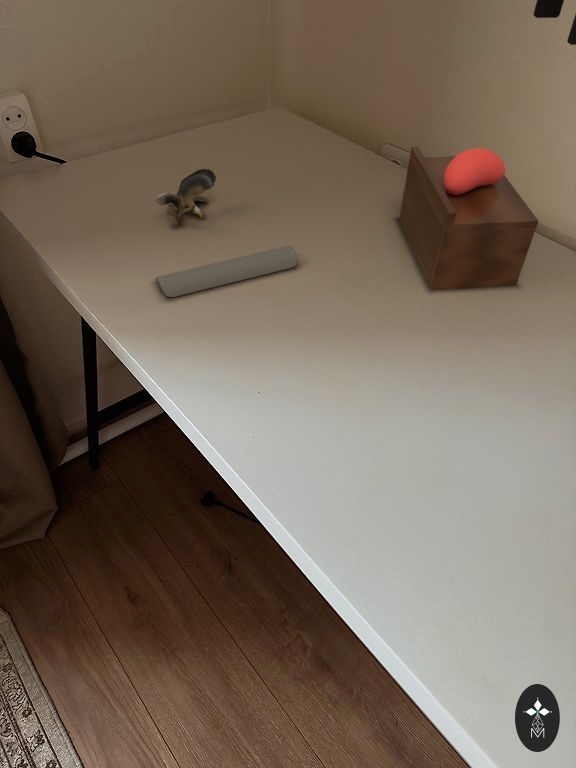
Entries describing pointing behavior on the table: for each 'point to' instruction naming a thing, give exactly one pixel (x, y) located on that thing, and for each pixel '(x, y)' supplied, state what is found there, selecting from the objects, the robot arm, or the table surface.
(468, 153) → the stress ball
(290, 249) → the gray half cylinder
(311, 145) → the table surface
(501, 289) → the table surface
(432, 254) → the wooden box with backboard
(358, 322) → the table surface
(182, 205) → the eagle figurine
